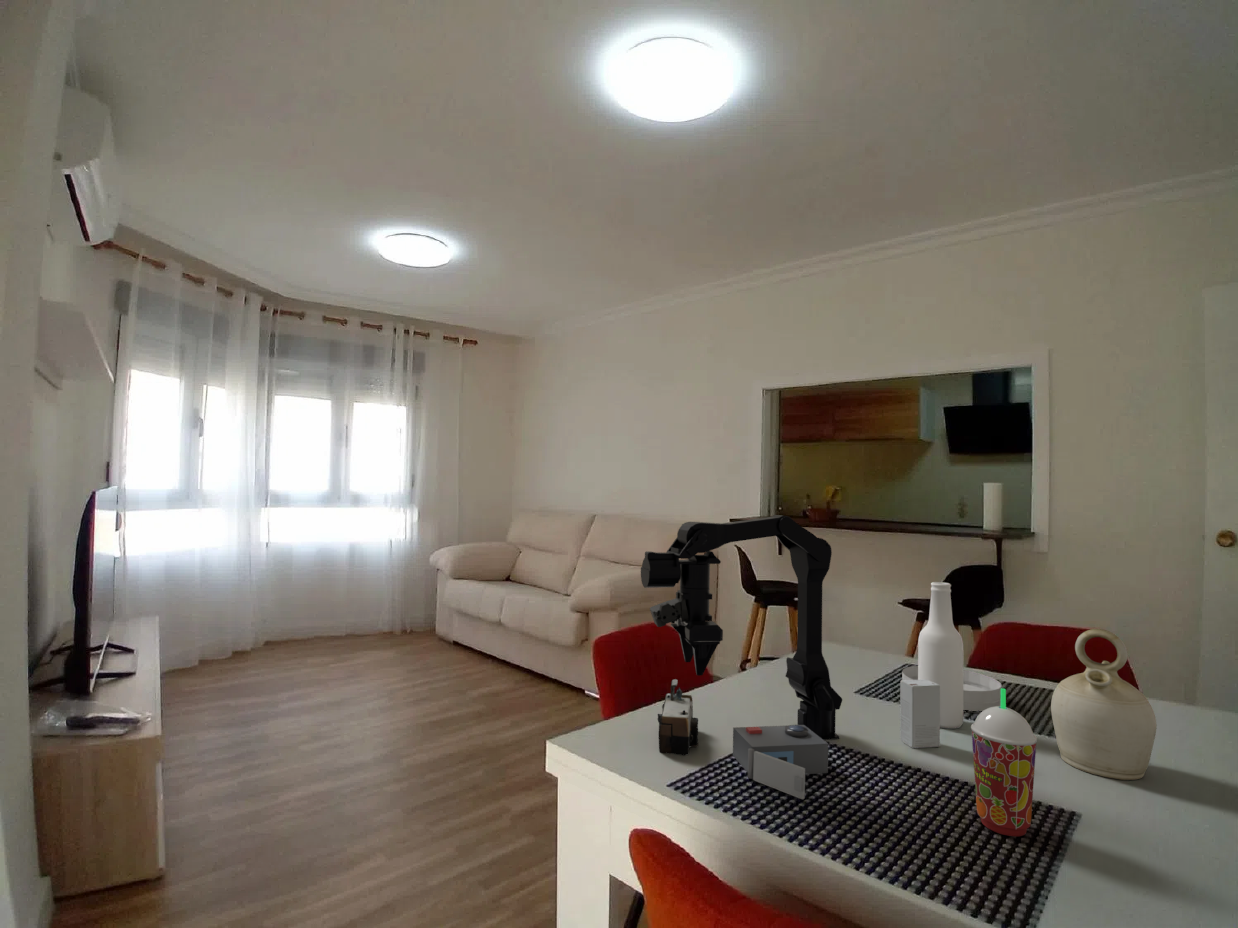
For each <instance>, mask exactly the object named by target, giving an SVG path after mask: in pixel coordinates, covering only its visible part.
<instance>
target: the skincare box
mask: <svg viewBox="0 0 1238 928" xmlns="http://www.w3.org/2000/svg"><path fill="white" fill-rule="evenodd" d="M899 687H900V694H899V695H900V696H899V697H900V699H899V701H900V702H899V704H900V706H899V709H900V710H899V711H900V713H899V716H900V717H899V718H900V719H899V721H900V723H899V725H900V726H899V731H900V732H899V739H900V741H901V742H902V743H904V744H905V745H906V746H907V747H910V748H912V749H917V748H919V749H921V748H924V749H925V748H937V747H938V748H940V745H941V744H940V743H941V741H940V740H941V739H940V736H941V731H940V686H939V685H938V684H936V683H934V682H931V681H929V680H902V679H901V680H900V685H899Z"/></svg>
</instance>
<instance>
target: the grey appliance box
mask: <svg viewBox="0 0 1238 928" xmlns="http://www.w3.org/2000/svg"><path fill="white" fill-rule="evenodd" d="M749 748H752V749H754V752H755V751H758V752H761V753H763V754H766V755H769V756H772V757H775V758H777V759H780V760H783V761H786V762H789V763H792V764H794V765H797V766H800V767H803V768H805V775H816V774H829V743H828V742H827V741H826V740H823V739H822V738H820V737H819V736H818V735H816V734H815V733H814V732H813V731H811V730H810V729H809V728H807V727H806V726H805V725H797V724H789V725H788V724H787V725H765V726H764V725H763V726H739V727H737V726H736V727H732V756H733V757H734V759H736V761H737V762H738V764H740V766H741V767H742V768H743V769H744V771H746V773H748V749H749Z"/></svg>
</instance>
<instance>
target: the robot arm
mask: <svg viewBox="0 0 1238 928" xmlns="http://www.w3.org/2000/svg"><path fill="white" fill-rule="evenodd" d="M770 537H771V538H772V537H775V538H777V539H778V541H779V542H780V544H782V546H783V547H785V549H787V550H788V551H789V554H790V560H791V561H790V563H791V566H792V567H791V568H792V569H793V571H794V574H795V576H796V578H797V623H796V625H797V626H796V627H797V629H796V630H797V635H796V636H797V640H796V641H797V643H796V648H797V649H796V652H795V653H794V655H793V657H787V658H786V661H785V662H786V673H785V677H786V678H787V679H788V684H789V686H791V688H792V689H793V690H794V692H795V694H796V697H797V698H799V699H800V701H799V708H798V709H797V724H796V725H805V726H806V727H807V728H809V729H810V730H811V731H813V732H814V733H815V734H816V735H818V736H819V737H820V738H822V739H823V740H824V741H826V740H839V739H840V735H839V734H837V733H836V714H837V713H836V710H840V709H841V706H842V703H843V698H842V697H841V696H840V695H839V693H837V691H836V690H835V689H834V688H833V687H832V684H831V677H830V670H829V667H828V665H827V663H826V660H825V656H824V655H823V585H824V584H823V582H824V580H825V578H826V576H827V575H828V572H829V571H830V568H831V567H830V566H831V561H832V553H833V552H832V546H831V543H830V544H829V542H828V541H827V540H826V539H824V538H822V537H817V536H816V535H814V533H812V532H811V531H809V530H808V529H806V528H805V527H803V526H801V525H800V524H798V523H797V522H796V521H795V520H794V519H793V518H791V517H790V516H789V515H782V514H781V515H779V514H774V515H772V516H768V517H761V518H753V519H745V520H738V521H730V522H729V521H728V522H723V523H720V522H718V523H716V522H707V521H706V522H703V521H686V522H684V523H682V524H681V526H680V527H679V529H678V531H677V537H676V538H675V540H674V541H673V542H672V544H671V545H670V547H669V548H668V549H667V551H666V552H656V551H655V552H654V551H648V550H647V551H645V552H644V558H643V559H642V563H641V566H640V581H641V584H642V586H643V587H644V588H646V589H647V588H650V589H651V588H655V589H657V588H674V587H675V586H676V584H679V589H677V591H676V593H675V598H673V599H669V600H666V601H663V602H660V603H659V604H658V603H657V604H655V605H652V606H650V608H649V612H650V613H651V614H650V615H651V617H652V619H653V620H652V621H653V623H654V625H656V627H658V628H662V627H665V626H666V625H667V624H670V623H671V624H670V626H671V627H672V628H673V629H674V630H675V631H676V632H677V634H678V636H679V639H680V644H681V649H682V654H683V659H684V662H685V663H691V662H692V659H693V660H694V667H695V673H696V674H695V675H696V676H700V677H702V676H703V675H704V673H705V671H706V669H707V668H708V664H709V663H710V660H711V659H712V657H713V654H714V653H715V651H716V649H717V647H718V645H720V644H721V642H722V641H724V638H723V637H724V630H723V629H722V628H721V627H720V625H718V624H717V623H716V622H714V621H713V616H712V615H711V614H710V600H713V593H711V592H710V591H711V590H710V584H711V583H710V579H711V578H710V576H711V573H710V571H711V569H710V567H711V565H720V564H721V562H722V561H721V560H720V559H719V558H718V557H717V556H716V555H715V553H714V552H713V551H712V550H715V549H716V550H717V549H718V548H721V547H722V546H724V545H727V544H730V543H735V542H741V541H743V542H744V541H749V540H750V541H751V540H755V539H763V538H770ZM703 553H704V554H703Z"/></svg>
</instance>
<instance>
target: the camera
mask: <svg viewBox="0 0 1238 928" xmlns="http://www.w3.org/2000/svg"><path fill="white" fill-rule="evenodd" d="M670 683H671V684H670V693H666V694H665V698H664V702H663V704H662V705H661V708H662V713H657V721H658V751H659V753H661V754H670V755H679V756H683V757H685V756H688V755H689V754H690V748H697V747H698V746H699V739H698V737H699V735H698V734H699V718H698V717H694V711H693V710H694V709H693V696H692V694H685V693H684V694H683V690H681V688H680V687H678V689H677V690H676V693H675V689H676V687H677V686H678V683H679V682H678V679H676V678H675V679H672V680H671V682H670Z"/></svg>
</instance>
